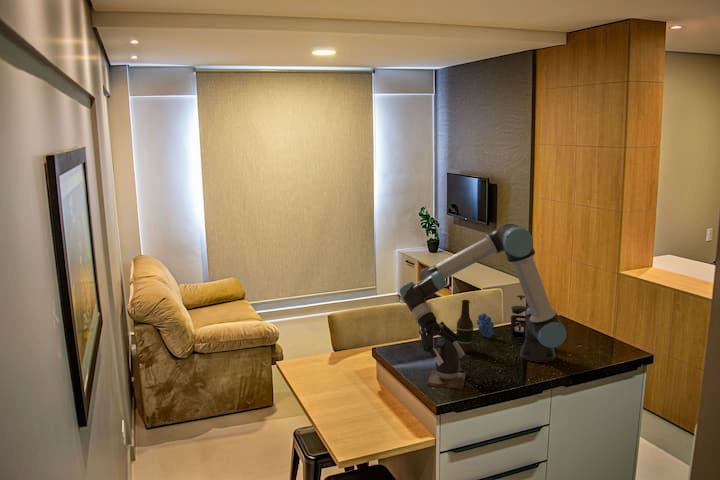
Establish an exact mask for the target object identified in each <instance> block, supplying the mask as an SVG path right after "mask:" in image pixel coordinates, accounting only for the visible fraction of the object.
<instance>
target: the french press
mask: <svg viewBox="0 0 720 480" xmlns="http://www.w3.org/2000/svg"><path fill="white" fill-rule="evenodd" d="M516 297H517V298H519V300H520V301H523V299H526V298H525V295H521V294H519V295H516ZM528 308H529V306H526V305H525V306H524V305H522V304H520V305H514V306H511V313H512V315H511V316H510V333H509V340H510V341H512V342H516V343H524V341H525V328H526V315H522V313H524V312H526V311H527V309H528ZM523 319H524V320H523ZM517 324H523V326H521V325H519V326H518V325H517ZM518 337H522V338H518ZM510 341H509V342H510Z"/></svg>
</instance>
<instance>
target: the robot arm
mask: <svg viewBox="0 0 720 480" xmlns="http://www.w3.org/2000/svg"><path fill="white" fill-rule="evenodd" d="M535 251H536V250H535V249H534V238H533V236H532V235H531V232H529V231H528V230H527V229H526V228H524V227H522V226H519V225H518V224H514V223H507V224H503V225H501V226H499V227H498V228H495V229H494V230H492V231H490V232H489V233H487V234H486V235H485V237H484V238H482V239H480V240H479V241H477V242H475V243H473V244H471V245H469V246H468V247H466V248H464V249H461V250H460V251H458V252H456V253H455V254H453V255H451V256H448V257H447V258H446V259H443V260H441V261H439V262H438V263H436V264H434V265H433V266H430V267H424V268H422V270H421V271H420V273H419V282H417V283H414V282H413V281H410V282H408V283H405V284H404V285H402V286H401V287H400V289H399V294H400V297H402V300H403V301H404V303H405V304H406V306H407V308H408V309H409V311H410V312H411V313H412V316H413V317H414V319H415V320H416V321H417V324H418V326H419V327H420V329H418V333H419V335H420V339H421V344H422V349H423V352H425V353H429V354H430V355H431V357H432V358H433V359H434V360H435V363H436V362H437V364H438V366H440V365H441V364H442V363H443V360H442V358H441V357H440V355H439V354H438V350H437V349H436V348H435V347H434V337H437V336H438V337H442V339H445V340H446V341H449V342H452V343H453V344H454V345H455V347H456V349H457V352H458V355H459V359H461V358H462V357H463V356H465V355H466V352H463V350H462V349H461V346H460V345H459V343H458V342H457V340H458V338H459V337H458V336H457V335H456V333H455V332H454V331H453V330H452V329H450V328H449V327H448V326H447V325H446V323H444V321H440V322H439V323H438V322H437V317H436V316H435V314H434V312H433V311H432V308H431V307H430V305H428V303H427V302H426V299H428V298H430V297H431V296H433V295H434V294H436V293H438V292H439V291H441V290H443V289H444V288H445V287H446V286H447V285H448V282H447V280H446V279H447V278H449V277H452V276H453V275H455V274H457V273H459V272H460V271H462V270H464V269H466V268H468V267H470V266H472V265H474V264H475V263H476V264H477V263H478V262H480V261H482V260H483V259H485V258H487V257H489V256H491V255H492V254H496V255H497V254H500V253H501V252H504V254H505V257H506V259H507V261H508V263H509V264H512V265H513V267H514V270H515V273H516V276H517V279H518V281H519V285H520V287H521V289H522V292H523V294H524V295H523V296H525V298H524V299H525V300H526V302H527V305H528V306H527V307H529V308H528V309H527V311H525V316H526V319H525V320H526V328H525V341H524V343H523V344H522V346H521V349H520V353H519V354H520V358H521V357H522V358H521V359H523V358H524V359H523V360H525V359H526V360H525V361H527V360H530V361H529V362H531V361H538V362H545V361H551V360H553V359H555V360H556V352H555V349H554V348H558V347H559V346H561V345H562V344H563V343H564V341H565V340H566V338H567V330H566V327H565V326H564V324H562V322H561V321H560V317H559V315H558V312H557V310H555V309H554V308H552V306H551V302H550V301H549V298H548V295H547V292H546V289H545V287H544V284H543V282H542V279H541V275H540V273H539V270H538V266H537V265H536V261H535V259H534V256H535V254H536V252H535Z"/></svg>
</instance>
